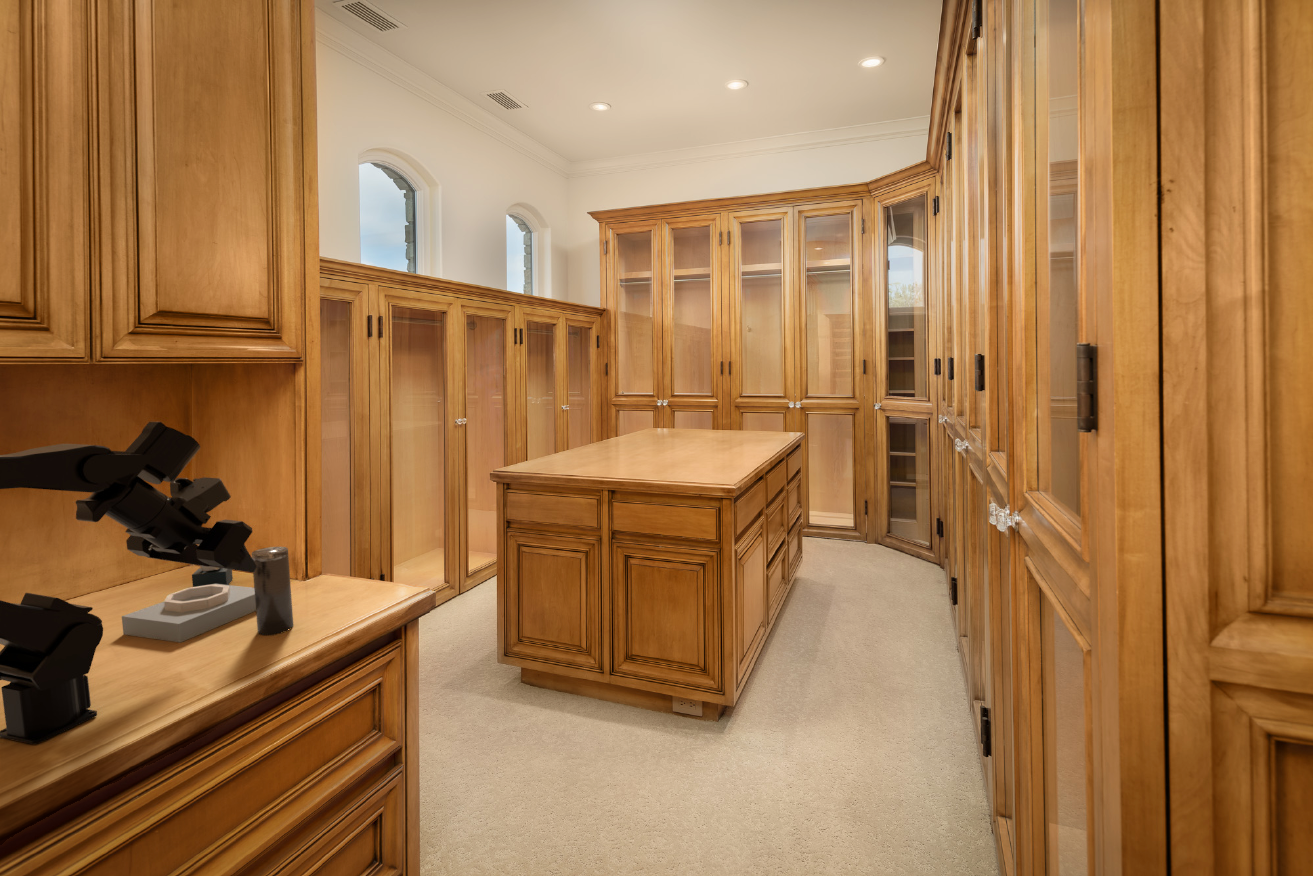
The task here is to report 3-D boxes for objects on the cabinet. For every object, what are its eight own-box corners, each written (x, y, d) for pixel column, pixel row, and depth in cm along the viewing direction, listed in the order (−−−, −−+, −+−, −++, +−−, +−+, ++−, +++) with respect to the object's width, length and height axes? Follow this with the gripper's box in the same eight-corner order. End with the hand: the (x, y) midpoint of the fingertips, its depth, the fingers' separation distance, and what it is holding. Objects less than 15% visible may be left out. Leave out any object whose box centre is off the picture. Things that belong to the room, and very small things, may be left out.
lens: (275, 636, 101) (269, 556, 99) (250, 633, 102) (243, 554, 100) (300, 624, 105) (295, 547, 104) (276, 621, 107) (270, 545, 105)
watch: (235, 577, 130) (230, 524, 129) (224, 589, 122) (219, 534, 121) (202, 580, 128) (197, 527, 127) (189, 593, 120) (184, 536, 119)
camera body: (180, 642, 99) (177, 614, 98) (123, 634, 102) (120, 607, 101) (268, 605, 114) (266, 581, 113) (216, 599, 117) (214, 575, 117)
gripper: (233, 465, 86) (308, 525, 98) (141, 459, 93) (221, 516, 104) (178, 536, 80) (265, 592, 91) (83, 525, 86) (176, 578, 98)
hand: (232, 566), depth 96 cm, fingers open, 9 cm apart
